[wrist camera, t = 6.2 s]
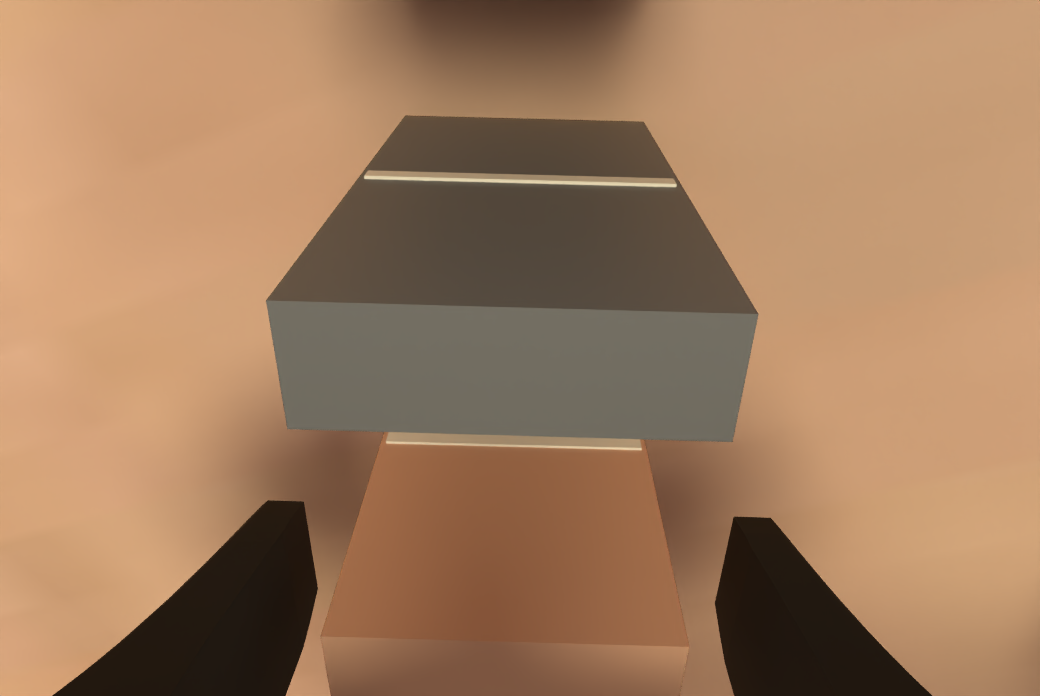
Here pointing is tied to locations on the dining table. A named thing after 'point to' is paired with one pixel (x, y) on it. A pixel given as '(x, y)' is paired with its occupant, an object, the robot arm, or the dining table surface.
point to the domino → (514, 292)
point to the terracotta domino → (507, 573)
